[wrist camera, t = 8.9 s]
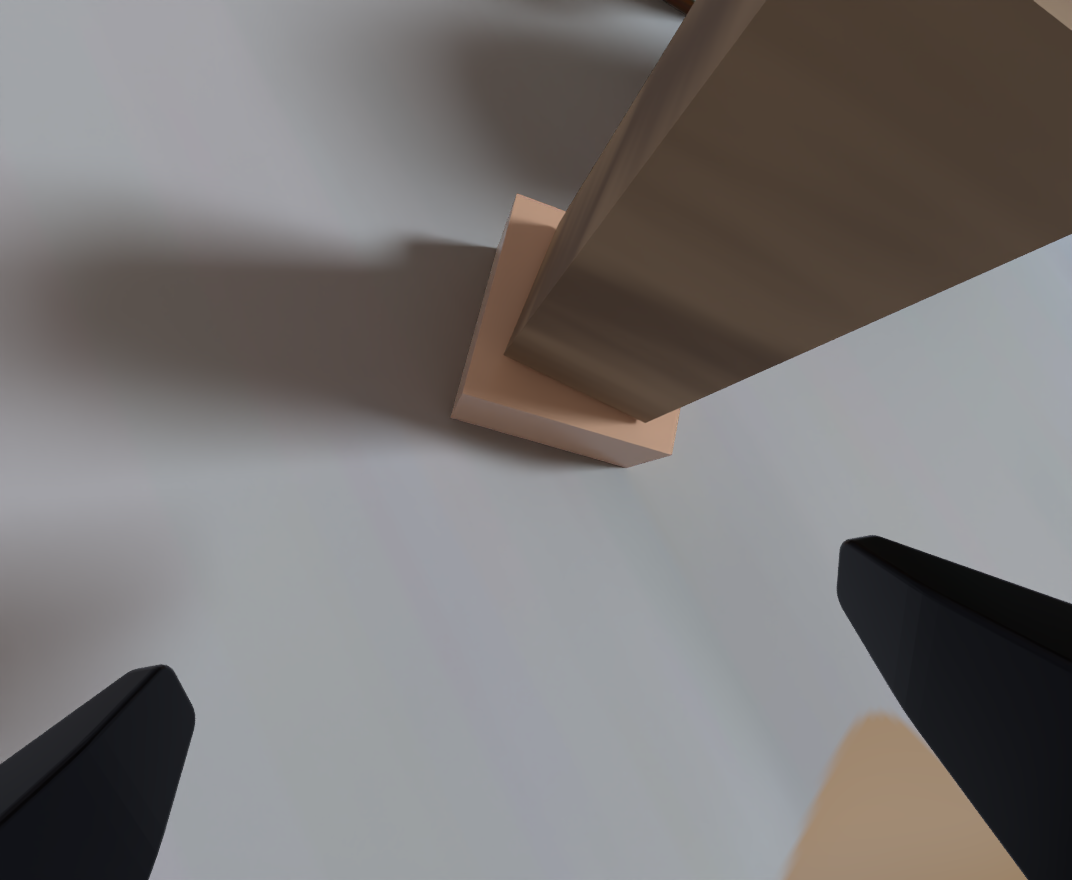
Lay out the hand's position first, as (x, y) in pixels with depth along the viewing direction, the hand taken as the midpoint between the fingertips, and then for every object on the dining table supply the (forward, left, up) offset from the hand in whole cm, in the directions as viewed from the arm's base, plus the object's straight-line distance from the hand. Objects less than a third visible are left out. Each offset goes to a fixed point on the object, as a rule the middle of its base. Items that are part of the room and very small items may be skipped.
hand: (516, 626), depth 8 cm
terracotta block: (+8, -4, -13) cm, 16 cm away
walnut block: (+8, -4, -9) cm, 13 cm away
